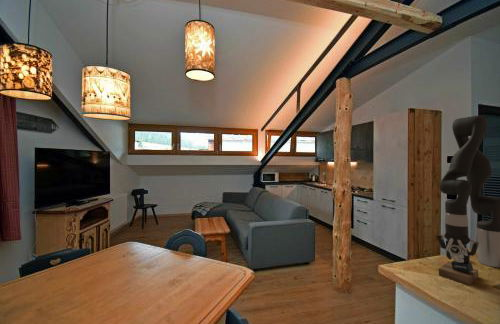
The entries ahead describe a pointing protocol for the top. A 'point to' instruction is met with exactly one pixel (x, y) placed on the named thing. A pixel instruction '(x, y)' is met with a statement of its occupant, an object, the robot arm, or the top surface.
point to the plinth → (458, 274)
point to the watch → (459, 259)
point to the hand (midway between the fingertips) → (457, 260)
